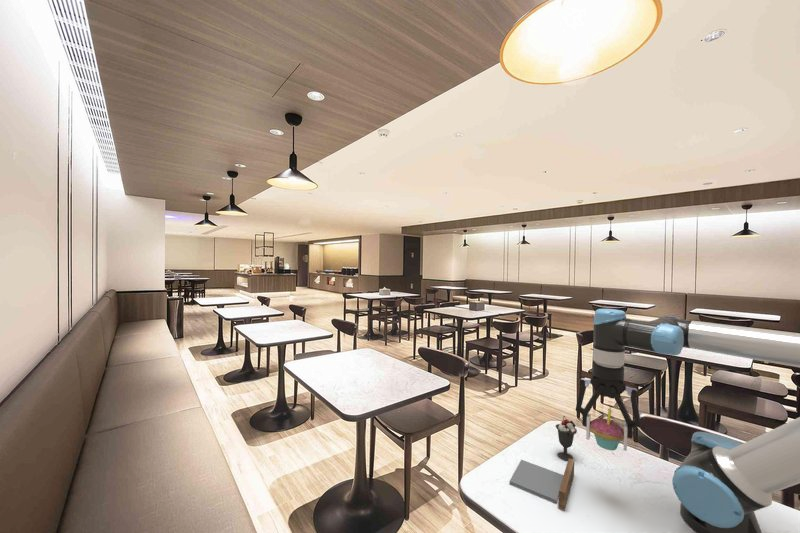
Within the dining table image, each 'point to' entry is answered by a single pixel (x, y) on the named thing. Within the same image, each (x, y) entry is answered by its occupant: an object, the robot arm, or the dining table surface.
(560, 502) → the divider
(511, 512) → the dining table surface
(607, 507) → the dining table surface
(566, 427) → the sundae
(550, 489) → the board
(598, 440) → the cupcake
